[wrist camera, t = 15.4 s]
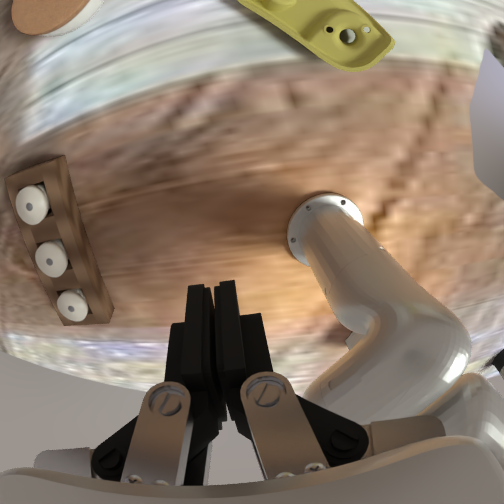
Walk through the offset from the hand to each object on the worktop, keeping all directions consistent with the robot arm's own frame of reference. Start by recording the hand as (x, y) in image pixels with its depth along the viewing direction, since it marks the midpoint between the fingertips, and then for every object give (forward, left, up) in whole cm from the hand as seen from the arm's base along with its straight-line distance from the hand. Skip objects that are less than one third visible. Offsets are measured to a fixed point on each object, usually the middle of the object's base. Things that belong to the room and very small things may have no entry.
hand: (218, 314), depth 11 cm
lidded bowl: (+32, -1, -32) cm, 45 cm away
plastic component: (+8, -23, -33) cm, 41 cm away
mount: (+7, +28, -32) cm, 43 cm away
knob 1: (+14, +23, -32) cm, 42 cm away
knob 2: (+7, +28, -32) cm, 43 cm away
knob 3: (0, +33, -32) cm, 46 cm away
